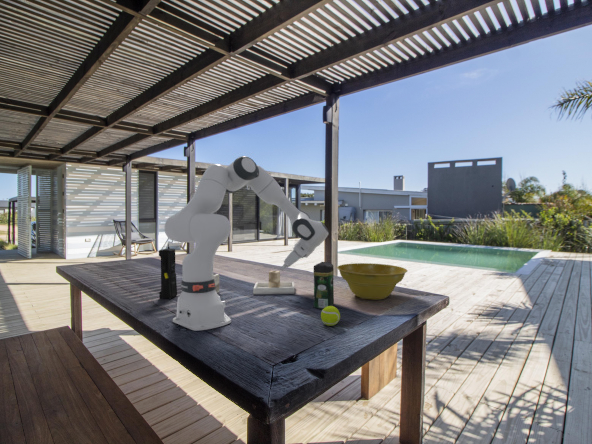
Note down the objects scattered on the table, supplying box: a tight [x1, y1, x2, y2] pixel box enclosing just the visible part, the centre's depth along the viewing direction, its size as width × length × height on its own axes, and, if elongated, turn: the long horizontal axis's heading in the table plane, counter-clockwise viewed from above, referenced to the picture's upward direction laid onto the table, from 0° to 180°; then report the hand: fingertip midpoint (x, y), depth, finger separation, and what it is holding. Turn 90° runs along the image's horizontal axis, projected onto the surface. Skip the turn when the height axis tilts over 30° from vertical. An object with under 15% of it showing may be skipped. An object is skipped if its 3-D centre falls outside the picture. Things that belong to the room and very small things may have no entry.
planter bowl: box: [336, 262, 408, 300], centre depth 148 cm, size 32×32×13 cm
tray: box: [252, 281, 296, 295], centre depth 160 cm, size 20×14×3 cm
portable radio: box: [158, 243, 178, 300], centre depth 147 cm, size 8×6×25 cm
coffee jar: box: [313, 261, 335, 310], centre depth 131 cm, size 10×8×19 cm
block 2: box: [268, 270, 281, 288], centre depth 160 cm, size 5×5×9 cm
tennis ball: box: [320, 305, 341, 327], centre depth 109 cm, size 7×7×7 cm
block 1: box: [213, 273, 220, 294], centre depth 156 cm, size 5×5×9 cm
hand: (284, 268), depth 159 cm, fingers open, 8 cm apart
